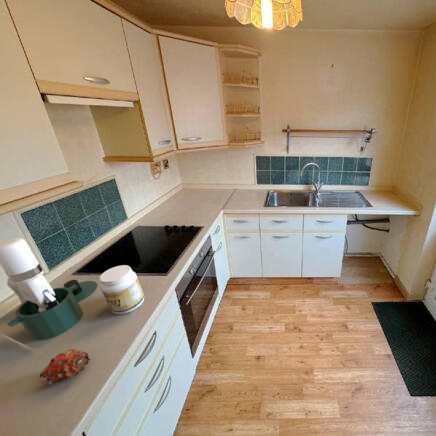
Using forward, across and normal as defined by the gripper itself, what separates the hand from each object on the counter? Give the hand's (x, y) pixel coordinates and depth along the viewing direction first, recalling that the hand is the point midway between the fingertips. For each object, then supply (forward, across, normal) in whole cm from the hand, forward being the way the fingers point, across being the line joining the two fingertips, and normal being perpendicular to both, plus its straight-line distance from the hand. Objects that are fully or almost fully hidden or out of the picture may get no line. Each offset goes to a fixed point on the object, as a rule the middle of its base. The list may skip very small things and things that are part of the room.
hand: (50, 310), depth 86 cm
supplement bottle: (+5, 0, 0) cm, 5 cm away
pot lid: (+7, -12, +13) cm, 19 cm away
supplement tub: (+7, +17, +16) cm, 25 cm away
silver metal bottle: (+7, -20, +3) cm, 21 cm away
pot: (+7, 0, 0) cm, 7 cm away
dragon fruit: (+7, +26, -11) cm, 29 cm away
